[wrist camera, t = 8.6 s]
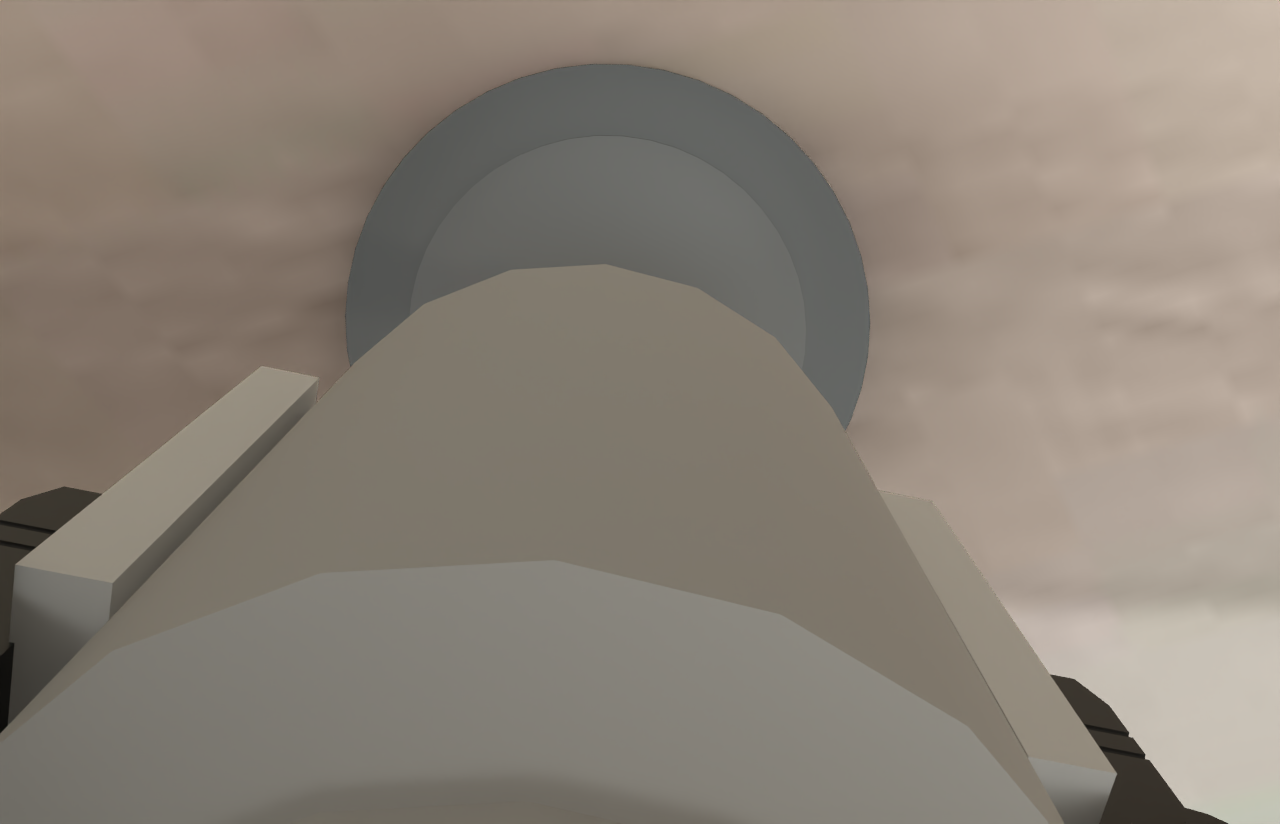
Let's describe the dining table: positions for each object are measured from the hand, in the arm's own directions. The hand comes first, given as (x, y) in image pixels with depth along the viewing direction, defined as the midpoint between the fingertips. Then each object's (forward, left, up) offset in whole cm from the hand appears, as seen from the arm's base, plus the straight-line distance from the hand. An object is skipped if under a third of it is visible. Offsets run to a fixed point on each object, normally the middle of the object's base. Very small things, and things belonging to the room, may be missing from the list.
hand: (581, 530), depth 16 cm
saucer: (0, 0, -13) cm, 13 cm away
